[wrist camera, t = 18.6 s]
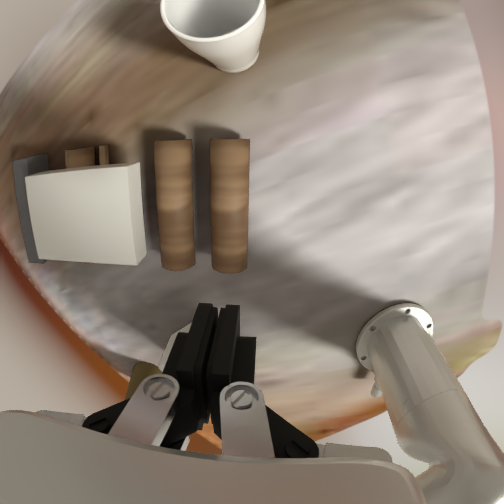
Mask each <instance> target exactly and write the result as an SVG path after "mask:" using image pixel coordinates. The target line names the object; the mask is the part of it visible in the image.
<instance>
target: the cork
mask: <svg viewBox="0 0 504 504" xmlns="http://www.w3.org/2000/svg"><path fill="white" fill-rule="evenodd" d="M154 374H162V371H161V370H160V369H159V368H158V367H157V366H155V365H153V364H151V363H147V362H141V363H137V364H136V365H135V366H134V368H133V372H132V375H131V379H130V382H129V386H128V390H127V394H126V397H125V400H127V399H129V398H131V397H132V396H133V394H134V393H135V391H136V390H137V388H138V386H139V385H140V383H141V382H142V381H143V380H144V379H145V378H147V377H148V376H151V375H154Z"/></svg>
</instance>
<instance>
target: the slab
mask: <svg viewBox="0 0 504 504" xmlns="http://www.w3.org/2000/svg"><path fill="white" fill-rule="evenodd" d="M25 183H26V191H27V199H28V206H29V212H30V218H31V224H32V229H33V234H34V239H35V244H36V249H37V253H38V257H39V259H47V260H61V261H74V262H89V263H104V264H120V265H136V266H137V265H138V264H139V263H140V261H141V260H142V259H143V258H144V257H145V256H146V254H147V250H146V241H145V231H144V220H143V208H142V195H141V178H140V162H138V163H122V164H109V165H97V166H87V167H77V168H68V169H60V170H52V171H44V172H39V173H36V174H33V175H30V176H27V177H25Z"/></svg>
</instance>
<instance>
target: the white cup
mask: <svg viewBox="0 0 504 504" xmlns="http://www.w3.org/2000/svg"><path fill="white" fill-rule="evenodd" d="M160 13H161V17H162V20H163V22H164V24H165V25H166V27H167V28H168V29H169V30H170V31H171V32H172V34H173V35H174V36H175V37H176V38H177V39H178V40H179V41H180V42H181V43H182V44H183V45H185V46H186V47H187V48H188V49H190V50H191V51H193V52H194V53H196V54H198V55H199V56H201V57H203V58H204V59H206V60H208V61H209V62H211V63H212V64H213V65H214V66H215V67H217V68H218V69H220V70H222V71H225V72H230V73H236V72H241V71H244V70H246V69H248V68H249V67H251V66H252V65H253V64H254V63H255V61H256V60H257V58H258V55H259V46H260V42H261V38H262V34H263V31H264V27H265V21H266V1H265V0H161V3H160Z"/></svg>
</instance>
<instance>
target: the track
mask: <svg viewBox="0 0 504 504" xmlns="http://www.w3.org/2000/svg"><path fill="white" fill-rule="evenodd" d="M71 150H74V149H71ZM66 151H69V150H66ZM66 151H65V164H66V169H67V154H66ZM99 158H100V165H109V145H102V146H99ZM154 160H155V185H156V203H157V218H158V230H159V242H160V252H161V262H162V267H163V268H165V269H167V270H171V271H182V270H186V269H189V268H191V267H193V266H194V265H195V263H196V260H195V241H194V218H193V184H192V139H178V140H162V141H154ZM249 160H250V139H210V202H211V248H212V268H213V269H214V270H215V271H217V272H221V273H227V274H232V273H238V272H242V271H244V270H245V269H246V268H247V255H248V206H249Z"/></svg>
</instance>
